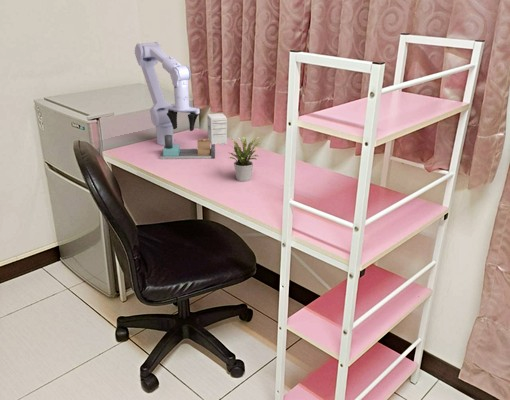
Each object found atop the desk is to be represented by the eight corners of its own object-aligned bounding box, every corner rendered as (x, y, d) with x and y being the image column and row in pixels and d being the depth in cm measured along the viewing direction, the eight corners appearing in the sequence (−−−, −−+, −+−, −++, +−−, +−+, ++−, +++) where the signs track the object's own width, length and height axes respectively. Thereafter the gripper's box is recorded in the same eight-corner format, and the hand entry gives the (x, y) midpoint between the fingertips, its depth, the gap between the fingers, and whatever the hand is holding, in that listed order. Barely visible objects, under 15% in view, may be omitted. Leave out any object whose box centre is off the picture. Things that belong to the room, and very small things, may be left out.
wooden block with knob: (198, 152, 209) (197, 137, 207) (210, 152, 210) (209, 137, 207) (197, 156, 205) (197, 141, 202) (210, 156, 205) (209, 141, 202)
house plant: (270, 174, 190) (271, 132, 184) (260, 187, 178) (261, 143, 171) (234, 170, 194) (234, 129, 187) (222, 183, 182) (222, 139, 175)
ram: (165, 151, 210) (164, 133, 206) (179, 151, 210) (178, 132, 207) (163, 157, 202) (162, 138, 199) (178, 157, 203) (177, 138, 199)
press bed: (162, 153, 211) (162, 144, 209) (215, 152, 212) (214, 143, 211) (160, 161, 202) (159, 152, 200) (215, 160, 203) (214, 151, 202)
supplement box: (207, 141, 227) (206, 113, 222) (223, 139, 230) (223, 112, 224) (211, 146, 221) (210, 118, 216) (227, 144, 223) (227, 116, 218)
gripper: (202, 96, 203) (203, 128, 208) (170, 93, 207) (172, 125, 213) (194, 99, 197) (196, 133, 202) (162, 96, 201) (164, 129, 207)
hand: (183, 129), depth 207 cm, fingers open, 7 cm apart
